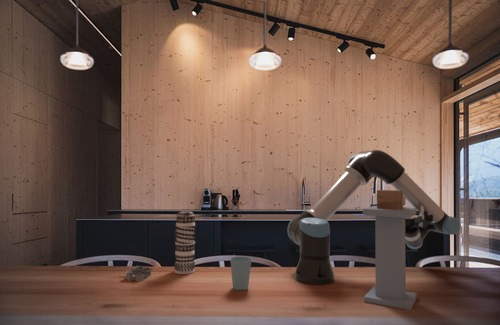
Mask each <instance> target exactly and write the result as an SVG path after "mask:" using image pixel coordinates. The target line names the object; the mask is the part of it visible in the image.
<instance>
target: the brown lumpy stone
mask: <svg viewBox="0 0 500 325" xmlns="http://www.w3.org/2000/svg"><path fill="white" fill-rule="evenodd" d="M152 271H153V268H152V267H151V268H149V266H146V267H145V266H140V265H136V266H135V267H133V268H130V269H129V270H126V271H125V272H124V274H125V275H126V277H125V278H126V281H128V282H131V281H136V282H143V281H145V280H144V279H147V278H148V277H151V276H152Z"/></svg>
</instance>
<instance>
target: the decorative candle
mask: <svg viewBox="0 0 500 325" xmlns="http://www.w3.org/2000/svg"><path fill="white" fill-rule="evenodd" d="M175 216H176V222H175V225H174V226H173V227H174V229H175V230H174V237H175V239H174V244H175V251H174V252H175V254H174V257H175V258H174V261H175V262H174V263H173V264H174V267H173V269H174V272H173V273H175V274H177V275H178V274H179V275H189V274H192V273H195V268H196V267H195V265H196V262H195V259H196V258H195V257H196V253H195V244H196V240H197V239H196V236H197V235H196V234H195V233H196V232H197V229H196V228H197V225H196V222H195V218H196V215H195V214H194V212H193V211H191V210H188V211H187V210H183V211H182V210H181V211H179V212H177V214H176V215H175Z"/></svg>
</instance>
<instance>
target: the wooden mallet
mask: <svg viewBox="0 0 500 325" xmlns="http://www.w3.org/2000/svg"><path fill="white" fill-rule="evenodd" d="M376 206H377V209H394V210H400V209H403V207H404V206H406V199H405V197H403V191H400V190H396V189H395V190H391V189H380V190H376Z"/></svg>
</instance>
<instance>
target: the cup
mask: <svg viewBox="0 0 500 325" xmlns="http://www.w3.org/2000/svg"><path fill="white" fill-rule="evenodd" d="M251 268H252V258H251V257H248V256H233V257H230V269H231V272H230V273H231V279H232V280H231V282H232V289H233V290H235V291H245V290H248V289H249V284H250V275H251Z"/></svg>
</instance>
